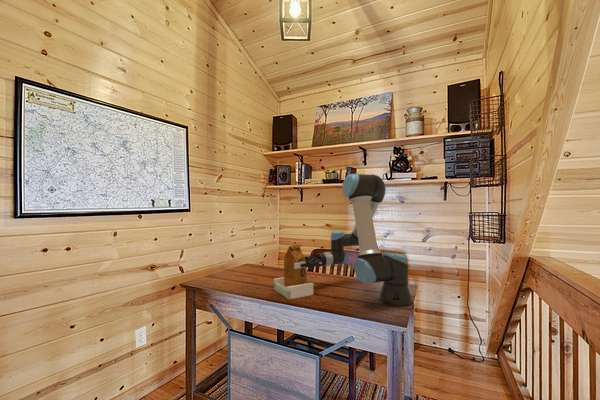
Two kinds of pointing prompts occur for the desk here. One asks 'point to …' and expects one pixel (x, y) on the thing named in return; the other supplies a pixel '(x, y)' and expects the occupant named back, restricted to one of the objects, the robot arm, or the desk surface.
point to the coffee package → (291, 274)
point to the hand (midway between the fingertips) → (289, 263)
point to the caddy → (292, 289)
